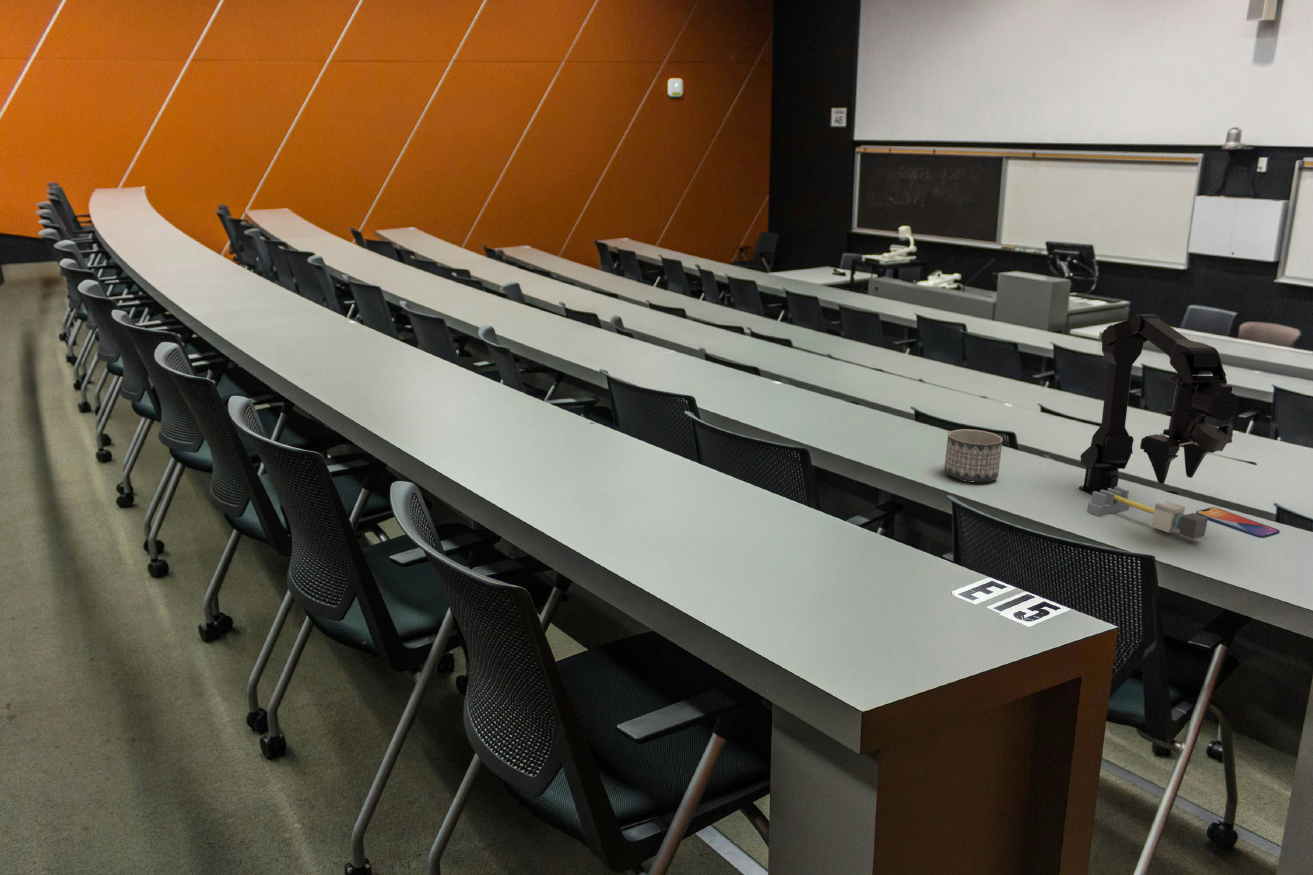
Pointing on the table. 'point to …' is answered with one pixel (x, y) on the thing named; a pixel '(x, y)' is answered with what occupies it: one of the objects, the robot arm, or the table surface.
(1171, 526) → the sleeve
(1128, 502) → the rod
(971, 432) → the planter
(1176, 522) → the teal puck
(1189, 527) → the dark grey cube
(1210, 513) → the smartphone
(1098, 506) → the comb
